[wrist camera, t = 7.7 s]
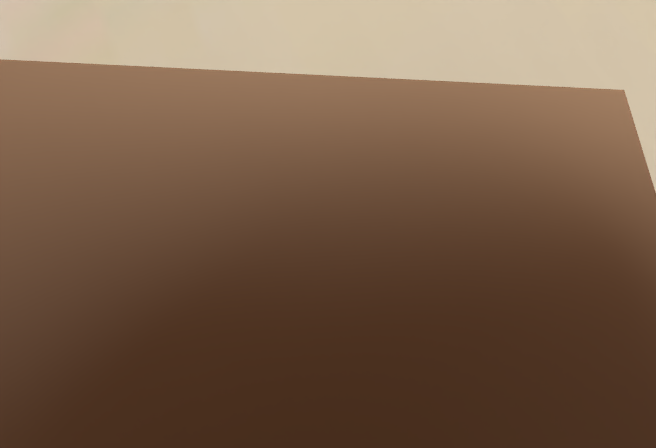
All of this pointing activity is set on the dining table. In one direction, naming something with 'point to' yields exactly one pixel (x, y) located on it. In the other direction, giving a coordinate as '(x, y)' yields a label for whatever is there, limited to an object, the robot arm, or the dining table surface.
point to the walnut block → (321, 262)
